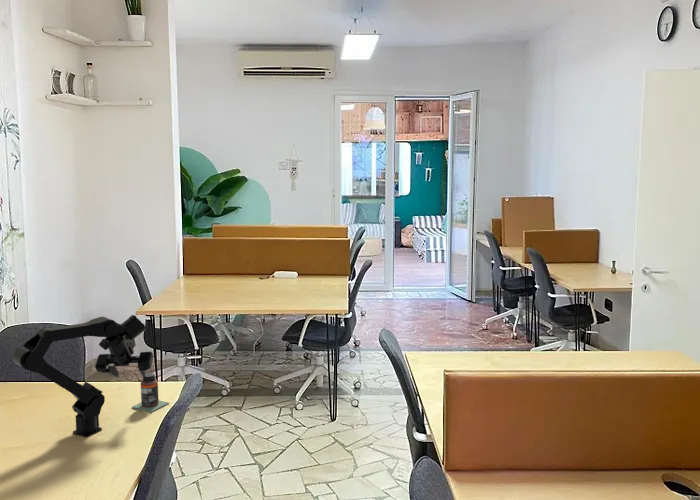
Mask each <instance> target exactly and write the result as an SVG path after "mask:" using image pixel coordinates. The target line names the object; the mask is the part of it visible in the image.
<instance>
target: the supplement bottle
mask: <svg viewBox="0 0 700 500" xmlns="http://www.w3.org/2000/svg"><path fill="white" fill-rule="evenodd" d="M159 400H160V399H159V381H158V379H157V378H155V373H153V372H145V377H143V376H142V380H141V381H140V401H141V402H140V403H142V406H144V407H153V406H156V405H157V404H158V403H159Z"/></svg>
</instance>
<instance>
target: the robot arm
mask: <svg viewBox="0 0 700 500" xmlns="http://www.w3.org/2000/svg"><path fill="white" fill-rule="evenodd" d="M146 330H147V328H146V325H145V324H144V323H143V322H142V321H141V320H140V319H139V318H138V317H137V315H134V314H132V315H130V316H129V317H128V318H127V319H126V320H124V321H123V322H122V323H118V322H117V321H115V320H114V319H111V318H108V317H106V316H100V317H99V316H98V317H96V318H92V319H90V320H89V321H87V322H83V323H76V324H70V325H62V326H61V325H60V326H55V327H43V328H40V330H38V331H37V332H36V334H35V335H33V336H32V337H31V338H29V339H28V340H26V341H25V342H24V344H23V345H22V346H20V347H18V348H17V349H16V350H15V351H14V352H13V355H12V361H13V362H14V364H16V365H17V366H19V367H20V368H22V369H23V370H26V371H29V372H32V373H35V374H38V375H41V376H43V377H45V378H46V379H48V380H49V381H50V382H52V383H54V384H55V385H58V386H59V387H61V388H62V389H65V391H67V392H69V393H71V395H72V396H73V397H74V398H75V399H76V401H75V402H74V404H73V405H72V406H71V408H72V410H73V412H74V413H76V415H75V430H73V431H72V434H74V435H79V436H83V437H85V438H86V437H90V436H91V435H94V434H96V433H98V432H100V431H103V428H102V427H100V421H99V420H100V419H99V418H100V413H101V411H102V407H103V406H104V404H105V400H106V399H105V398H106V397H105V395H104V394H103V391H102V390H101V389H99V388H97V387H95V386H94V385H93V384H91V383H89V382H87V381H84V383H83V384H81V383H79V382H77V381H75V380H74V379H72V378H70V377H69V376H67V375H66V374H65V373H63V372H61V371H60V370H58V369H56V368H55V367H54V366H52V365H50V364H49V363H48V361H46V359H45V358H44V356H45V355H46V354H47V352H48V350H49V348H50V346H51V345H52V344H53V342H59V341H66V340H71V339H77V338H84V337H96V338H102V339H101V341H100V342H99V343H98V346H100V347H101V349H103V350H104V351H106V350H108V352H109V353H100V354H98V355H97V358H96V362H95V365H94V369H95V371H96V372H98V373H102V374H107V375H110V376H112V377H114V378H117V379H119V378H120V373H119V371H118V369H117V367H129V365H130V364H137V368H138V372H139V373H140V374H141V376H142V378H143V377H145V374H146V373H147V371H148V370H150V369H151V368H152V364H153V361H154V357H155V355H154V353H153V352H152V351H140V353H139V355H134V353H135V351H134V348H135V347H136V346H137V345H136V340H135V339H136V338H137V337H138V336H140V335H142V333H143V332H145V331H146Z"/></svg>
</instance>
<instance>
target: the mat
mask: <svg viewBox="0 0 700 500" xmlns="http://www.w3.org/2000/svg"><path fill="white" fill-rule="evenodd" d="M167 404H168V405H169V404H170V402H169V401H164V400H160V399H159V403H158V404H157V405H156V406H153V407H144V406H142V403H141V402H139V403H136V404H134V405H133V406H131V409H132V410H133V409H134V410H139V411H143V412H147V413H151V414H152V413H154V412H156V411H158V410H161V408H164V407H166V406H168V405H167ZM165 405H166V406H165ZM163 406H164V407H163Z"/></svg>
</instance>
